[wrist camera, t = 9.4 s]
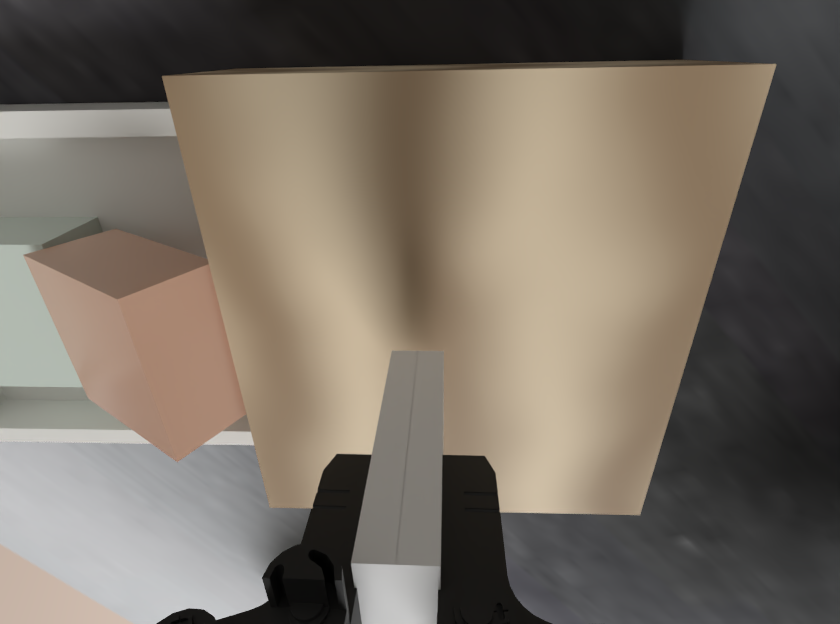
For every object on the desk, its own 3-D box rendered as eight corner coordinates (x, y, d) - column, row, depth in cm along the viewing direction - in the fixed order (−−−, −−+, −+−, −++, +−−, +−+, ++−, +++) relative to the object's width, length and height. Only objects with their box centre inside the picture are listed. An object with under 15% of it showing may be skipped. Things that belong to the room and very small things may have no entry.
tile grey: (-129, 244, 16) (-50, 217, 19) (-44, 385, 19) (14, 345, 22) (41, 244, 16) (97, 217, 19) (101, 387, 19) (142, 346, 22)
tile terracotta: (215, 261, 15) (117, 299, 13) (251, 410, 18) (177, 462, 16) (115, 228, 18) (23, 254, 16) (161, 361, 21) (87, 398, 19)
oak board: (683, 59, 16) (776, 64, 11) (602, 428, 23) (639, 515, 19) (236, 68, 16) (161, 75, 12) (300, 424, 24) (269, 507, 20)
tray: (242, 100, 17) (190, 114, 13) (298, 408, 24) (273, 471, 20) (-160, 107, 18) (-311, 121, 14) (6, 405, 24) (-67, 465, 21)
